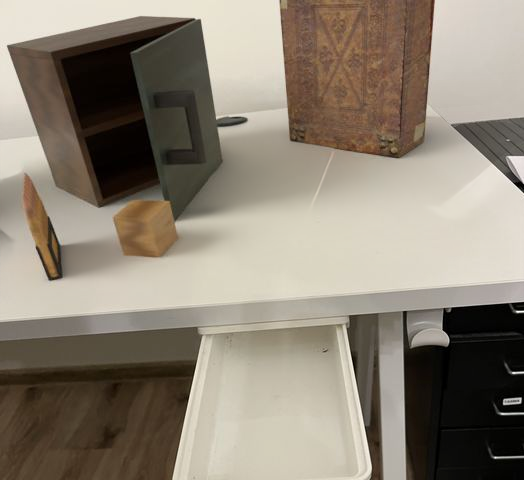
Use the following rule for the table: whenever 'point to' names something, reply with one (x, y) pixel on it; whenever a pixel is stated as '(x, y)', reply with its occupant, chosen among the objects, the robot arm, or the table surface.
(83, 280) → the table surface
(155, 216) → the oak block
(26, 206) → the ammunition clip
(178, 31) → the door
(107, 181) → the cupboard
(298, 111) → the book
